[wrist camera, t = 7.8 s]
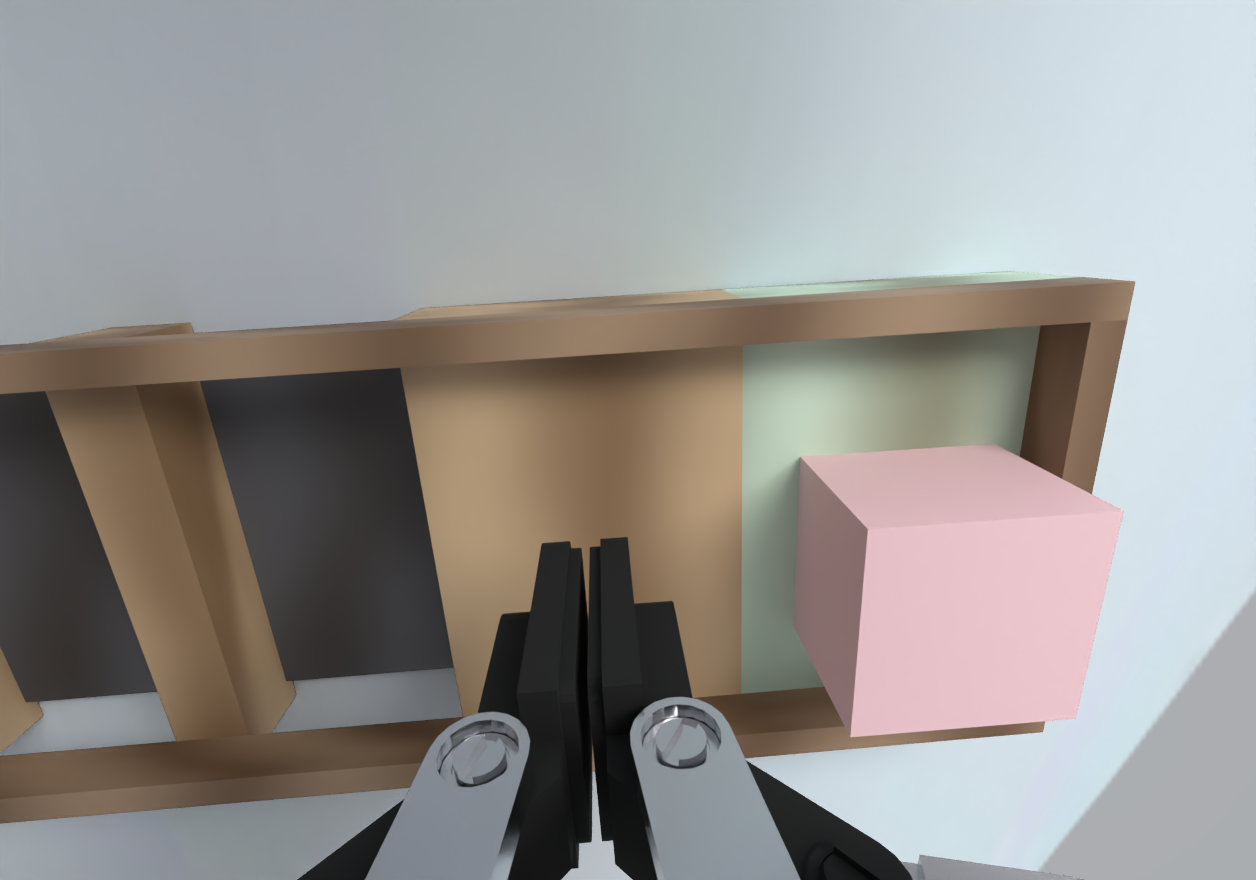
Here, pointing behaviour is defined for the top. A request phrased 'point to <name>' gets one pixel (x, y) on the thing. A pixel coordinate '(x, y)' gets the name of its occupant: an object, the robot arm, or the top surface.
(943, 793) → the top surface
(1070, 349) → the box
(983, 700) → the rose block
